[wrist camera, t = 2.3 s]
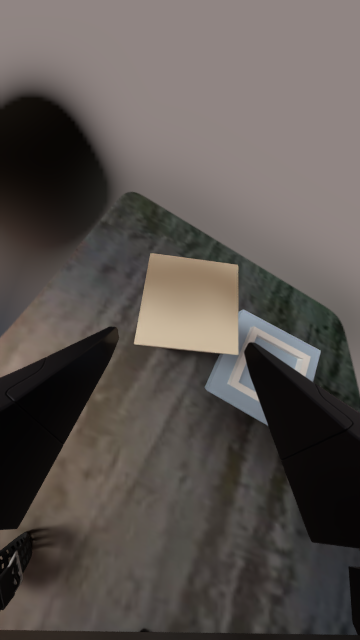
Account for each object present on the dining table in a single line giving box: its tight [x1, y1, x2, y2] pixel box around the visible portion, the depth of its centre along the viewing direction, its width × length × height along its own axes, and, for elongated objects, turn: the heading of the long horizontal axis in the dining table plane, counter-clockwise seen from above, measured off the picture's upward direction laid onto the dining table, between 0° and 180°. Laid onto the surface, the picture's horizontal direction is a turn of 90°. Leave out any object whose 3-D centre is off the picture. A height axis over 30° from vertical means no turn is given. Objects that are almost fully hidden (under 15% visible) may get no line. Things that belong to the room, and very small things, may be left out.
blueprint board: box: [205, 310, 321, 425], centre depth 17 cm, size 12×12×2 cm
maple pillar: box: [134, 253, 238, 355], centre depth 12 cm, size 5×5×12 cm
